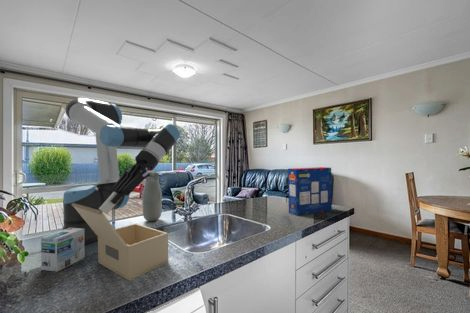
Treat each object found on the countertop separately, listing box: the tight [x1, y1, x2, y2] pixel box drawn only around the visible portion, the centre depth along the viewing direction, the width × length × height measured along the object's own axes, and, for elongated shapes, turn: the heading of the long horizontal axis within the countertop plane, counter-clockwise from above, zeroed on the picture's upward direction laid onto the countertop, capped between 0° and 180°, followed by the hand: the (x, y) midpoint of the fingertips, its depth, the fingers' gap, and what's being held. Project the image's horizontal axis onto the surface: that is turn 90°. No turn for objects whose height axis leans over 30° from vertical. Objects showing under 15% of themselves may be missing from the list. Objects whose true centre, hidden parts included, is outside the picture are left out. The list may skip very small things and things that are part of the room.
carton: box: [97, 223, 169, 281], centre depth 78 cm, size 20×14×10 cm
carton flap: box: [71, 203, 128, 248], centre depth 69 cm, size 19×14×1 cm
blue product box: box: [287, 166, 333, 217], centre depth 144 cm, size 28×8×28 cm, turn 114°
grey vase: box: [141, 171, 163, 222], centre depth 128 cm, size 10×10×28 cm
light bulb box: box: [40, 228, 86, 273], centre depth 77 cm, size 11×7×11 cm, turn 168°
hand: (103, 211), depth 70 cm, fingers closed
